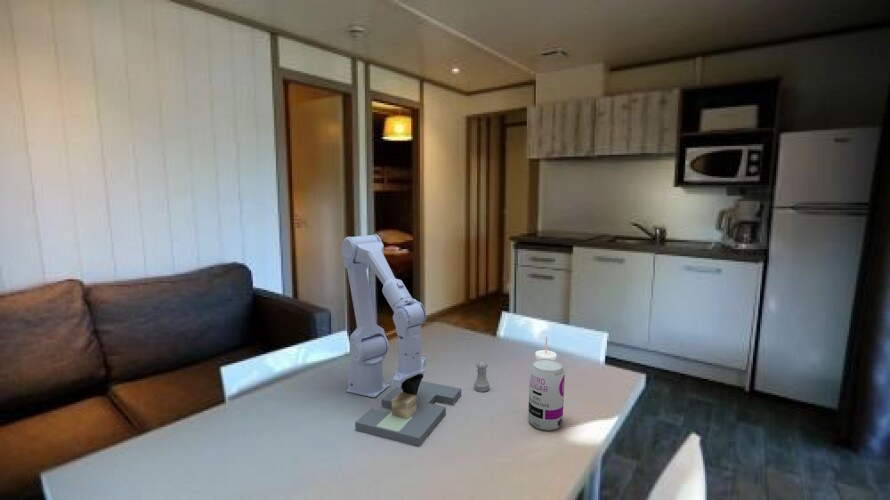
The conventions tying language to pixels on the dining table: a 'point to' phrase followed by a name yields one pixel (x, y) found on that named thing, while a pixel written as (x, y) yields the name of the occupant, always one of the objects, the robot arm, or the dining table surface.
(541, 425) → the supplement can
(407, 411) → the oak block
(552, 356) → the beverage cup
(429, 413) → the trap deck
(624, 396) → the dining table surface
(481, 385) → the rook chess piece
